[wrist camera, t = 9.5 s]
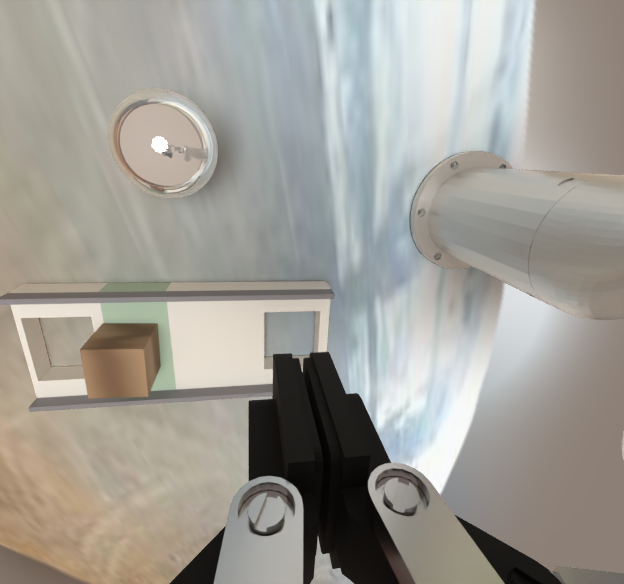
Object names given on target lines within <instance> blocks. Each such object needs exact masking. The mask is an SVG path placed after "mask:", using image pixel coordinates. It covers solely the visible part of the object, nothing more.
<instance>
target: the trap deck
mask: <svg viewBox="0 0 624 584" xmlns="http://www.w3.org/2000/svg"><path fill="white" fill-rule="evenodd" d="M330 299H334V293H333V291H332V289H331V288H330V286H329V285H328V283H327V281H288V282H170V283H53V284H22V285H21V286H19V287H17V288H15V289H14V290H12V291H10V292H8V293H7V294H5V295H3V296H1V297H0V305H11V308H12V312H13V315H14V319H15V322H16V326H17V329H18V333H19V336H20V340H21V343H22V347H23V350H24V354H25V357H26V361H27V364H28V368H29V371H30V375H31V378H32V382H33V385H34V389H35V392H36V396H37V399H36V400H35V401H34V402H33V403H32V404H31V406H30V407H29V411H30V412H35V411H50V410H65V409H80V408H96V407H111V406H126V405H141V404H156V403H171V402H186V401H201V400H216V399H232V398H247V397H262V396H273V357H264V312H297V311H316V316H315V333H314V349H313V352H327V339H328V325H329V312H330ZM88 316H91V318H92V323H93V328H94V333H95V332H96V330H97V329H98V328H99V327H100V326H101V325H102V324H103V323H158V336H159V349H160V362H161V367H160V369H159V372H158V374H157V377H156V379H155V381H154V384H153V386H152V389H151V391H150V393H149V396H148V397H122V398H91V399H88V395H87V389H86V383H85V377H84V371H83V366H66V367H51V365H50V361H49V357H48V353H47V349H46V345H45V342H44V338H43V334H42V330H41V326H40V322H39V318H46V317H88ZM309 356H310V355H303V356H292V357H293V358H299V360H300V364H301V368H302V372H303V359H304V358H308V357H309Z"/></svg>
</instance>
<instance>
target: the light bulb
mask: <svg viewBox="0 0 624 584" xmlns="http://www.w3.org/2000/svg"><path fill="white" fill-rule="evenodd" d="M108 141H109V148H110V151H111V154H112V157H113V159H114V161H115V163H116V165H117V166H118V168H119V170H120V171H121V172H122V173H123V175H124V176H125V177H126V178H127V179H128V180H129V181H130V182H131V183H132V184H134V185H135V186H136V187H138V188H139V189H141V190H143V191H144V192H147V193H149V194H151V195H154V196H158V197H163V198H179V197H185V196H188V195H190V194H193V193H195V192H196V191H198V190H199V189H201V188H202V187H203V186H204V185H205V184H206V183H207V182H208V181H209V179H210V178H211V176H212V175H213V173H214V170H215V167H216V165H217V158H218V144H217V139H216V135H215V132H214V130H213V127H212V125H211V123H210V121H209V120H208V118H207V117H206V115H205V114H204V112H203V111H202V110H201V109H200V108H199V107H198V106H197V105H196V104H195V103H193V102H192V101H191V100H189V99H188V98H186V97H184V96H183V95H181V94H179V93H176V92H173V91H169V90H166V89H159V88H149V89H142V90H139V91H137V92H134V93H132V94H130V95H129V96H127V97H126V98H124V99H123V100H122V101H121V103H120V104H119V105H118V106H117V107H116V109H115V111H114V112H113V114H112V116H111V119H110V123H109V127H108Z"/></svg>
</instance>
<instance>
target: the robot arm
mask: <svg viewBox="0 0 624 584" xmlns="http://www.w3.org/2000/svg"><path fill="white" fill-rule="evenodd" d="M451 164H452V166H451ZM419 210H420V212H419V213H418V211H419ZM410 225H411V231H412V236H413V239H414V241H415V244H416V246H417V247H418V249H419V250H420V252H421V253H422V254H423V255H424V256H425V257H426V258H427V259H428V260H430V261H432V262H433V263H435V264H437V265H439V266H441V267H444V268H449V269H465V268H470V267H474V268H476V269H478V270H480V271H483V272H485V273H487V274H489V275H491V276H493V277H495V278H497V279H499V280H501V281H503V282H505V283H507V284H509V285H511V286H513V287H515V288H517V289H519V290H521V291H523V292H525V293H527V294H529V295H531V296H533V297H535V298H537V299H539V300H541V301H543V302H545V303H547V304H549V305H552V306H554V307H556V308H558V309H560V310H562V311H564V312H566V313H569V314H572V315H575V316H578V317H582V318H587V319H596V320H612V319H622V318H624V175H611V174H593V173H575V172H555V171H537V170H518V169H513V168H512V167H511V166H510V164H509V163H508V162H506V161H505V160H504V159H503V158H501V157H499V156H497V155H495V154H493V153H489V152H483V151H470V152H464V153H460V154H457V155H454V156H452V157H449V158H448V159H446V160H444V161H443V162H441V163H440V164H439V165H437V166H436V167H435V168H434V169H433V170H432V171H431V172H430V173H429V174H428V175H427V177H426V178H425V179H424V180H423V182H422V184H421V185H420V187H419V189H418V191H417V193H416V196H415V198H414V201H413V204H412V210H411V221H410ZM434 255H435V256H434ZM622 456H623V460H624V431H623V437H622ZM317 537H319V542H320V548H321V552H322V554H326V553H329V554H330V559H331V564H332V569H336V568H341V572H342V574H343V575H344V576H346V577H347V578H348V579H350V580H351V581H352V582H353V583H354V584H624V573H615V572H607V571H598V570H597V571H596V570H589V569H579V568H571V567H561V566H555V568H554V570H553V571H549V570H548V569H547V568H545V567H544V566H542V565H541V564H539V563H538V562H537V561H535V560H533V559H532V558H530V557H528V556H526V555H525V554H523V553H521V552H519V551H517V550H516V549H514V548H512V547H510V546H509V545H507V544H505V543H503V542H502V541H500V540H498V539H496V538H495V537H493V536H491V535H489V534H487V533H486V532H484V531H482V530H481V529H479V528H477V527H475V526H473V525H472V524H470V523H468V522H466V521H464V520H463V519H461V518H459V517H458V516H456V515H454V514H453V512H452V511H451V510H450V508H449V507H448V506H447V504H446V503H445V502H444V500H443V499H442V497H441V496H440V495H439V493H438V492H437V490H436V489H435V488H434V486H433V485H432V484H431V482H430V481H429V480H428V479H427V478H426V477H425V476H424V475H423V474H422V473H420V472H419V471H417V470H416V469H414V468H412V467H410V466H407V465H405V464H399V463H391V462H390V460H389V458H388V455H387V453H386V451H385V449H384V447H383V445H382V442H381V440H380V438H379V436H378V434H377V432H376V429H375V427H374V425H373V423H372V421H371V419H370V416H369V414H368V412H367V410H366V408H365V406H364V404H363V401H362V399H361V397H360V396H359V394H357V393H355V394H346V393H345V390H344V388H343V385H342V383H341V381H340V378H339V376H338V373H337V371H336V368H335V366H334V363H333V361H332V358H331V356H330V354H329V352H313V353H310V356H309V357H308V358H304V359H303V372H302V368H301V364H300V360H299V358H293V357H292V354H273V399H267V400H252V401H249V482H248V483H246V484H245V485H244V486H242V487H241V488H240V489H239V490H238V492H237V493H236V494H235V496H234V498H233V500H232V503H231V505H230V509H229V514H228V518H227V523H226V526H225V527H224V528H223V529H222V530H221V531H220V532H219V533H218V535H217V536H216V537H215V538H214V539H213V540H212V541H211V542H210V543H209V544H208V545H207V546H206V547H205V548H204V549H203V550H202V551H201V552H200V553H199V554H198V555H197V556H196V557H195V558H194V559H193V560H192V561H191V562H190V563H189V564H188V565H187V566H186V567H185V568H184V569H183V570H182V571H181V572H180V573H179V574H178V576H177V577H176V578H175V579H174V580H173V581H172V582H171V583H170V584H310V583H311V581H312V579H313V577H314V565H315V555H316V549H317Z"/></svg>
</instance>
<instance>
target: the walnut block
mask: <svg viewBox="0 0 624 584" xmlns="http://www.w3.org/2000/svg"><path fill="white" fill-rule="evenodd" d="M80 353H81V359H82V365H83V371H84V377H85V383H86V389H87V395H88V399H91V398H122V397H148V396H149V393H150V391H151V389H152V386H153V384H154V381H155V379H156V377H157V374H158V372H159V369H160V367H161V362H160V349H159V336H158V323H103V324H102V325H101V326H100V327H99V328H98V329H97V330H96V332H95V333H94V334H93V335H92V336H91V337H90V339H89V340H88V341H87V342H86V343H85V344H84V346H83V347H82V348H81V349H80Z"/></svg>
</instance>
